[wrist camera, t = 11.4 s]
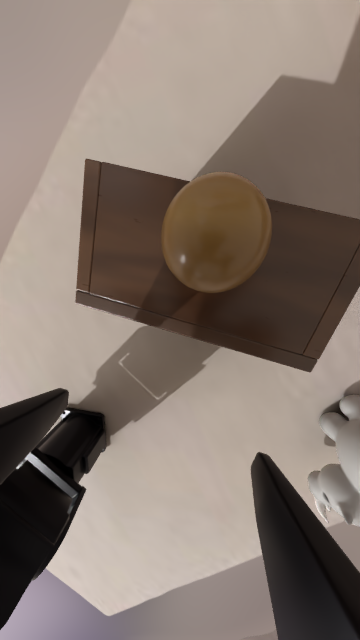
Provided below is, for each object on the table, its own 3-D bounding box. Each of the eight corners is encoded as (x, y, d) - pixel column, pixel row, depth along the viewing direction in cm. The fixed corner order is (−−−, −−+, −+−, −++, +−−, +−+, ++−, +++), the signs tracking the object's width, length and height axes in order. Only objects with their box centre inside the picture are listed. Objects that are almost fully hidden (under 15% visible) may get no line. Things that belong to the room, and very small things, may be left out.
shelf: (416, 474, 4) (740, 139, 2) (-34, 329, 5) (-77, 4, 3) (256, 320, 18) (283, 254, 16) (140, 288, 19) (152, 221, 17)
